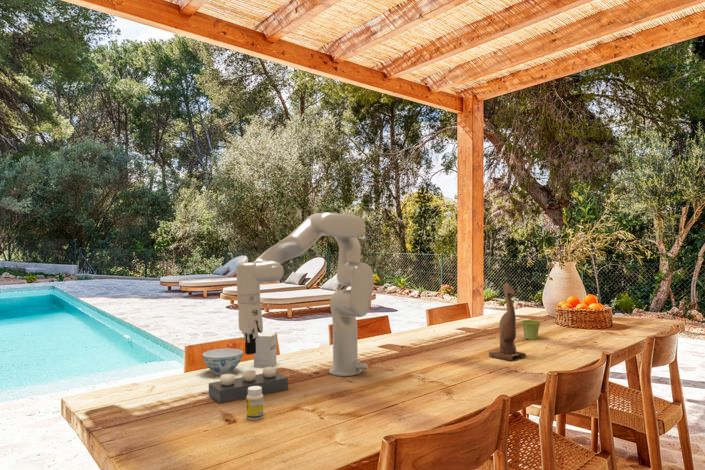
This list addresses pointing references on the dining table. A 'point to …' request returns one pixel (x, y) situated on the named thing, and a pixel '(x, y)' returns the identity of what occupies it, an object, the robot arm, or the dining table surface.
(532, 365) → the dining table surface
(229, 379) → the knob
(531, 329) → the plant pot
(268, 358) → the supplement box
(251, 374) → the knob middle
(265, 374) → the knob
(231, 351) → the chinaware
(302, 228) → the robot arm
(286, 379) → the knob plate
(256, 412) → the supplement bottle
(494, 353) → the bird sculpture
